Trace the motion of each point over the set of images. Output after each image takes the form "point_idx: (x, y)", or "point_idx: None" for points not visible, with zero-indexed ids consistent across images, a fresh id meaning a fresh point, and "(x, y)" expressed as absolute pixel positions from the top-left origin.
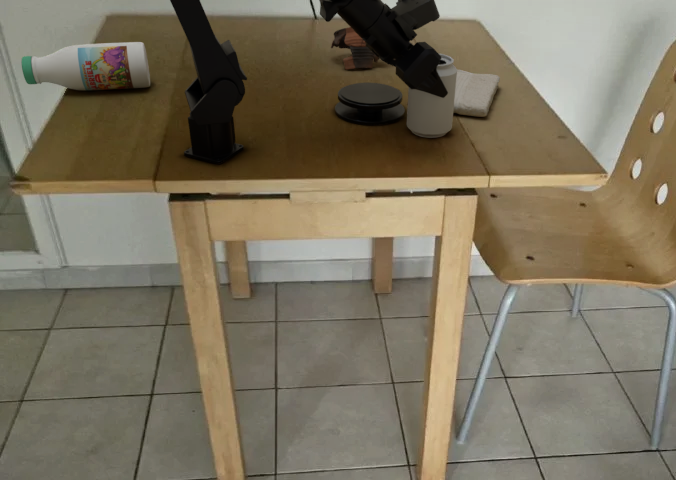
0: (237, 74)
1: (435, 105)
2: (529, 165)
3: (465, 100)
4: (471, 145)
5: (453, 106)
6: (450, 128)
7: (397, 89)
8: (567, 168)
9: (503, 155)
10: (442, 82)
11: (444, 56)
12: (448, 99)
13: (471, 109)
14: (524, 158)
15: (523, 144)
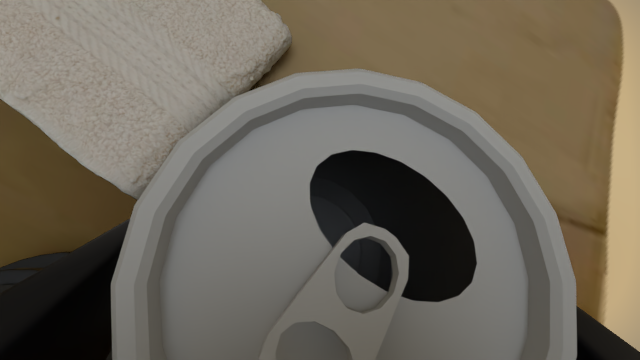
0: None
1: (424, 291)
2: (572, 111)
3: (219, 56)
4: None
5: (374, 179)
6: (363, 202)
7: (3, 274)
8: (598, 45)
9: (511, 136)
10: (608, 330)
11: (284, 108)
12: (427, 221)
13: (264, 67)
14: (536, 99)
15: (464, 54)
